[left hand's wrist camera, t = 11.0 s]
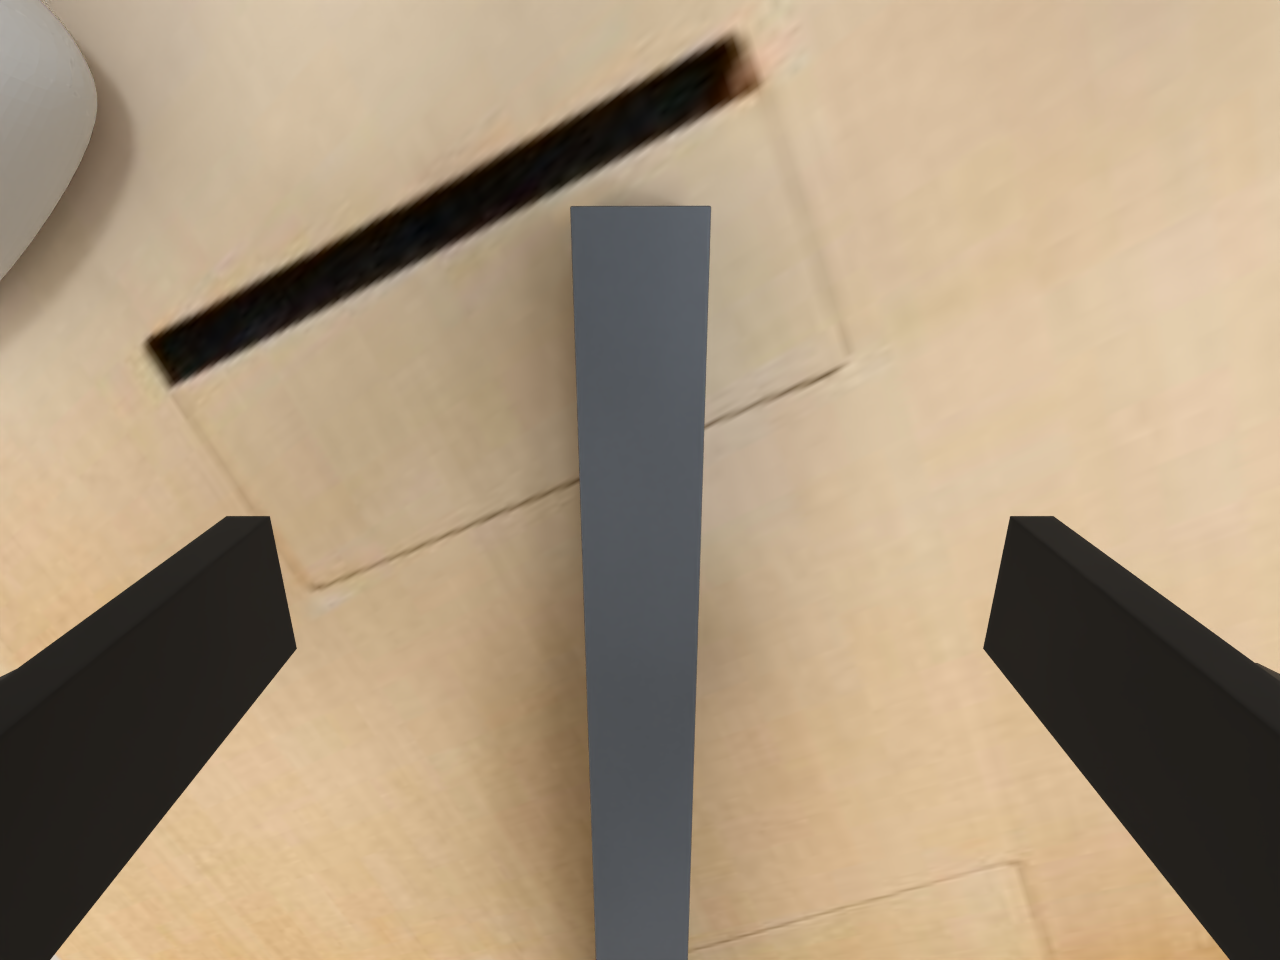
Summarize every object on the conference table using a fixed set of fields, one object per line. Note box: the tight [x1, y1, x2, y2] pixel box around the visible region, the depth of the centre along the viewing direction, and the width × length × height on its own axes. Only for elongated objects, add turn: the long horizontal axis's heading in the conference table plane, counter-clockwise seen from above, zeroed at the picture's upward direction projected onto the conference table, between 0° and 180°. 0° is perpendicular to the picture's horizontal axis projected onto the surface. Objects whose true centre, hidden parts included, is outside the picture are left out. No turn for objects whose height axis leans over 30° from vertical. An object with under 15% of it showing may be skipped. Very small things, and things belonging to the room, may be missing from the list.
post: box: [570, 206, 711, 960], centre depth 40 cm, size 66×5×8 cm, turn 0°
